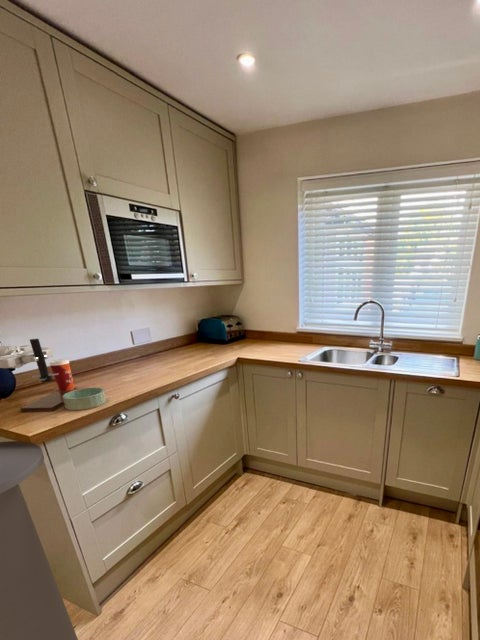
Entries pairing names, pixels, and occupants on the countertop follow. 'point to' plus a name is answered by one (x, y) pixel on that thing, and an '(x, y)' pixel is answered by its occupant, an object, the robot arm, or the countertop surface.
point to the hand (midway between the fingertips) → (41, 358)
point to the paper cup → (62, 374)
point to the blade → (41, 362)
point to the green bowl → (84, 398)
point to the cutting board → (46, 403)
